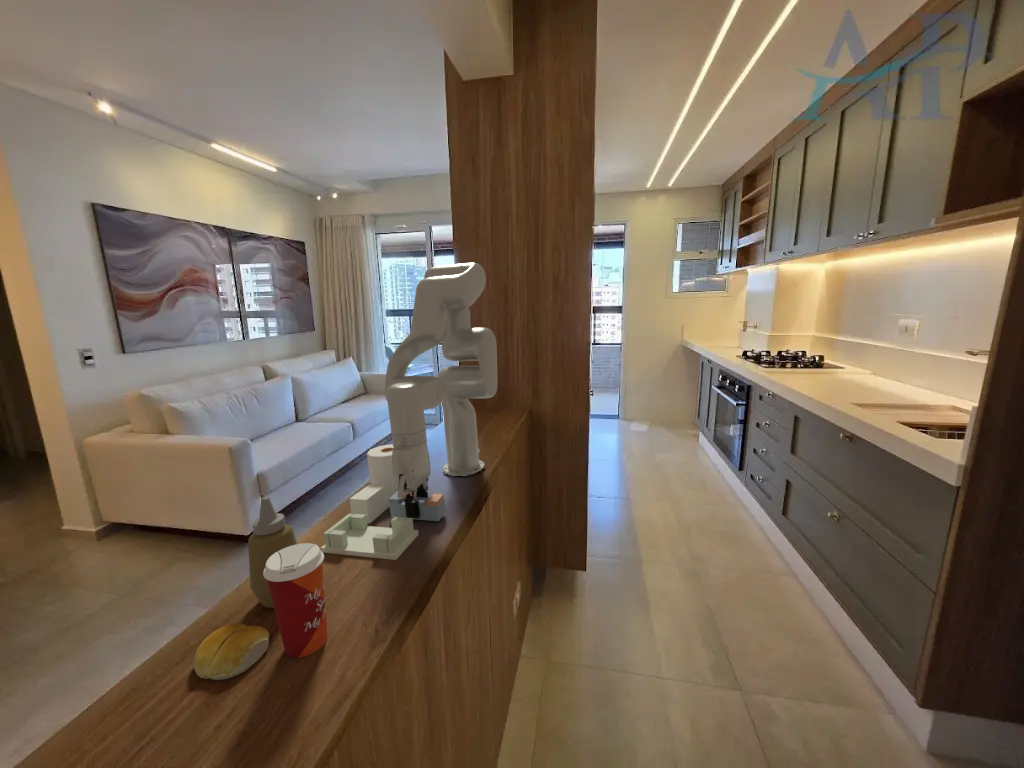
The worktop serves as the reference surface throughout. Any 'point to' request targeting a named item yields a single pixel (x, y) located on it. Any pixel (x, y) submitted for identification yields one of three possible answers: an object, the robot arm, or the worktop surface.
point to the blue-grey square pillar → (420, 507)
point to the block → (370, 501)
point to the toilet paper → (381, 466)
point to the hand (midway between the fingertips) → (418, 511)
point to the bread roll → (230, 651)
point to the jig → (369, 537)
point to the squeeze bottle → (266, 547)
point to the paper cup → (298, 597)
